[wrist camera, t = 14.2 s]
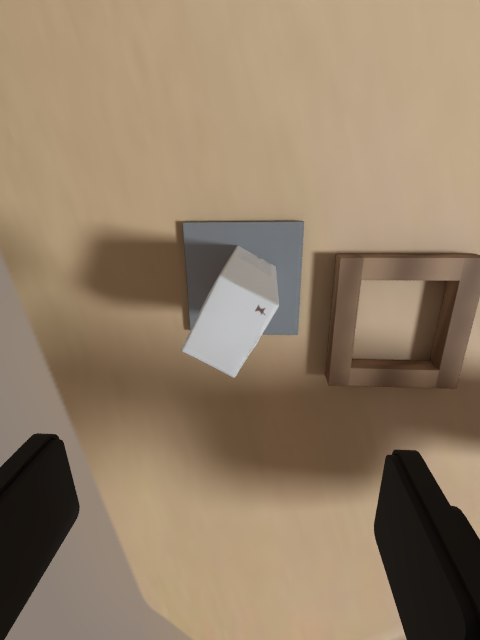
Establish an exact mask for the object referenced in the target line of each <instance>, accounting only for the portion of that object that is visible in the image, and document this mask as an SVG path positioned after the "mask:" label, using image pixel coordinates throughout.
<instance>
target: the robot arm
mask: <svg viewBox="0 0 480 640" xmlns="http://www.w3.org/2000/svg"><path fill="white" fill-rule="evenodd" d="M78 514H79V502H78V498H77V494H76V490H75V486H74V482H73V478H72V474H71V470H70V466H69V462H68V458H67V454H66V451H65V446H64V443H63V441H62V440H60V439H59V437H58V436H57V435H55V434H34V435H32V436H31V437H30V438H29V439H28V440H27V441H26V442H25V443H24V444H23V445H22V446H21V447H20V448H19V449H18V450H17V451H16V452H15V453H14V454H13V455H12V456H11V457H10V458H9V459H8V460H7V461H6V462H5V463H4V464H3V465H2V466H1V467H0V640H4V639H5V637H6V636H7V634H8V632H9V631H10V629H11V627H12V626H13V624H14V622H15V621H16V619H17V617H18V616H19V614H20V612H21V611H22V609H23V607H24V606H25V604H26V602H27V601H28V599H29V597H30V596H31V594H32V592H33V591H34V589H35V587H36V586H37V584H38V582H39V581H40V579H41V577H42V576H43V574H44V572H45V571H46V569H47V567H48V566H49V564H50V562H51V561H52V559H53V557H54V556H55V554H56V552H57V551H58V549H59V547H60V546H61V544H62V542H63V541H64V539H65V537H66V536H67V534H68V532H69V531H70V529H71V527H72V526H73V524H74V522H75V521H76V519H77V516H78ZM374 534H375V539H376V542H377V545H378V549H379V552H380V555H381V558H382V561H383V565H384V568H385V571H386V574H387V577H388V581H389V584H390V587H391V590H392V594H393V597H394V600H395V603H396V606H397V610H398V613H399V616H400V619H401V622H402V626H403V629H404V632H405V635H406V638H407V640H480V539H479V538H478V536H477V534H476V533H475V531H474V530H473V528H472V526H471V525H470V523H469V521H468V520H467V518H466V517H465V515H464V514H463V513H462V511H461V510H460V509H459V508H457V507H455V506H450V504H449V502H448V501H447V499H446V497H445V496H444V494H443V492H442V490H441V489H440V487H439V485H438V484H437V482H436V480H435V479H434V477H433V475H432V473H431V472H430V470H429V468H428V467H427V465H426V463H425V462H424V460H423V458H422V456H421V455H420V453H419V452H418V451H415V450H394V451H393V453H392V455H387V456H386V459H385V465H384V470H383V476H382V482H381V487H380V493H379V499H378V505H377V510H376V516H375V522H374Z"/></svg>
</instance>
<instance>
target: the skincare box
mask: <svg viewBox="0 0 480 640" xmlns="http://www.w3.org/2000/svg"><path fill="white" fill-rule="evenodd" d="M278 307H279V298H278V288H277V276H276V266H274V265H273V264H271V263H269V262H267V261H265V260H264V259H262V258H260V257H258V256H256V255H254V254H253V253H251V252H249V251H247V250H245V249H243V248H242V247H240V246H237V247H236V248H235V250H234V252H233V253H232V255H231V256H230V258H229V260H228V261H227V263H226V265H225V266H224V268H223V269H222V271H221V273H220V274H219V276H218V278H217V280H216V281H215V283H214V285H213V287H212V289H211V290H210V292H209V294H208V296H207V298H206V300H205V302H204V304H203V306H202V308H201V310H200V312H199V314H198V316H197V318H196V321H195V323H194V325H193V327H192V329H191V331H190V333H189V335H188V337H187V339H186V341H185V343H184V345H183V347H182V349H181V351H182V352H184V353H186V354H188V355H190V356H192V357H194V358H196V359H198V360H200V361H202V362H204V363H206V364H208V365H209V366H211V367H213V368H215V369H217V370H219V371H221V372H223V373H225V374H227V375H229V376H230V377H232V378H234V377H235V376H236V375H237V374H238V372H239V370H240V369H241V367H242V365H243V364H244V362H245V361H246V359H247V357H248V356H249V354H250V353H251V351H252V350H253V349H254V347H255V346H256V344H257V343H258V341H259V339H260V337H261V335H262V334H263V332H264V330H265V329H266V327H267V325H268V324H269V322H270V320H271V319H272V317H273V315H274V314H275V312H276V310H277V309H278Z"/></svg>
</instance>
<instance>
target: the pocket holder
mask: <svg viewBox="0 0 480 640" xmlns="http://www.w3.org/2000/svg"><path fill="white" fill-rule="evenodd" d="M361 280H442V281H447V283H446V288H445V292H444V297H443V302H442V306H441V311H440V316H439V320H438V325H437V329H436V334H435V339H434V343H433V348H432V353H431V357H430V361H411V360H366V359H352V353H353V344H354V336H355V328H356V319H357V311H358V303H359V295H360V286H361ZM479 297H480V255H477V254H336V262H335V273H334V284H333V295H332V306H331V317H330V328H329V339H328V350H327V361H326V372H325V376H326V379H327V382H328V385H342V386H378V387H413V388H449V389H456V387H457V383H458V379H459V376H460V372H461V368H462V364H463V360H464V356H465V352H466V348H467V344H468V340H469V336H470V332H471V328H472V325H473V321H474V317H475V313H476V309H477V305H478V301H479Z"/></svg>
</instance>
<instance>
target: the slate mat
mask: <svg viewBox="0 0 480 640" xmlns="http://www.w3.org/2000/svg"><path fill="white" fill-rule="evenodd" d="M303 231H304V221H256V222H183V233H184V247H185V261H186V275H187V290H188V304H189V318H190V331H191V329H192V327H193V325H194V323H195V321H196V318H197V316H198V314H199V312H200V310H201V308H202V306H203V304H204V302H205V300H206V298H207V296H208V294H209V292H210V290H211V289H212V287H213V285H214V283H215V281H216V280H217V278H218V276H219V274H220V273H221V271H222V269H223V268H224V266H225V265H226V263H227V261H228V260H229V258H230V256H231V255H232V253H233V252H234V250H235V248H236V247H237V246H240V247H242V248H243V249H245V250H247V251H249V252H251V253H253V254H254V255H256V256H258V257H260V258H262V259H264V260H265V261H267V262H269V263H271V264H273V265H274V266H276V276H277V288H278V298H279V307H278V309H277V310H276V312H275V314H274V315H273V317H272V319H271V320H270V322H269V324H268V325H267V327H266V329H265V330H264V332H263V334H267V335H298V323H299V305H300V286H301V268H302V250H303Z"/></svg>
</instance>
